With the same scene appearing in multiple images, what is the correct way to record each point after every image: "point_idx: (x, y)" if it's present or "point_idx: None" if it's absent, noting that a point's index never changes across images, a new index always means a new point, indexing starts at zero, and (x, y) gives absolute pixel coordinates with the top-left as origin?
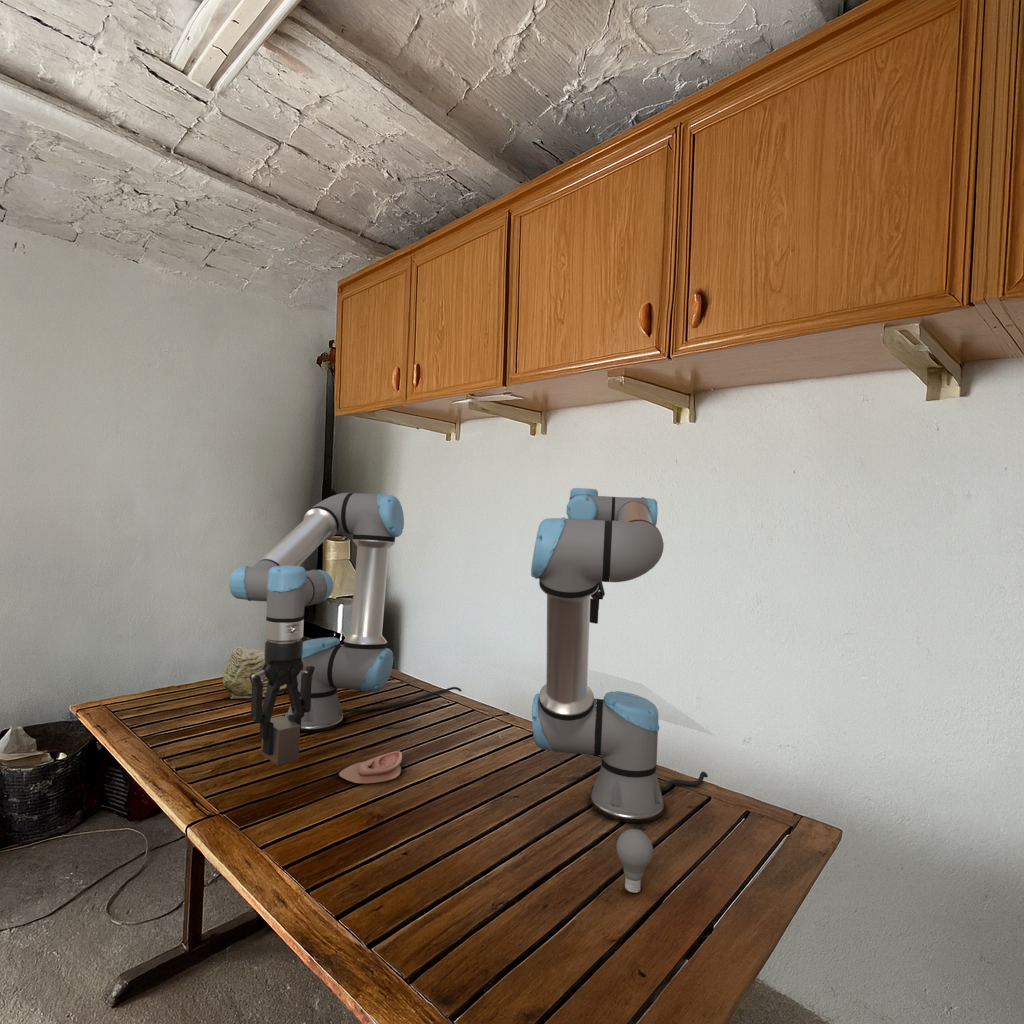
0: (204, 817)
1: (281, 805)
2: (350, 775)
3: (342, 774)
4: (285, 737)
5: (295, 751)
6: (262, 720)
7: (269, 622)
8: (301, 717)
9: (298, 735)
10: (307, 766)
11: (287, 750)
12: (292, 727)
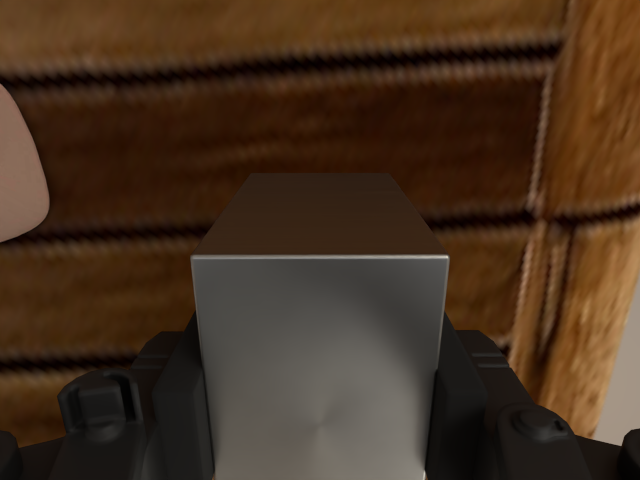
0: (587, 225)
1: (347, 128)
2: (7, 149)
3: (35, 190)
4: (357, 223)
5: (268, 185)
6: (586, 459)
7: None
8: (114, 370)
9: (227, 220)
10: (127, 357)
11: (330, 190)
12: (285, 251)
